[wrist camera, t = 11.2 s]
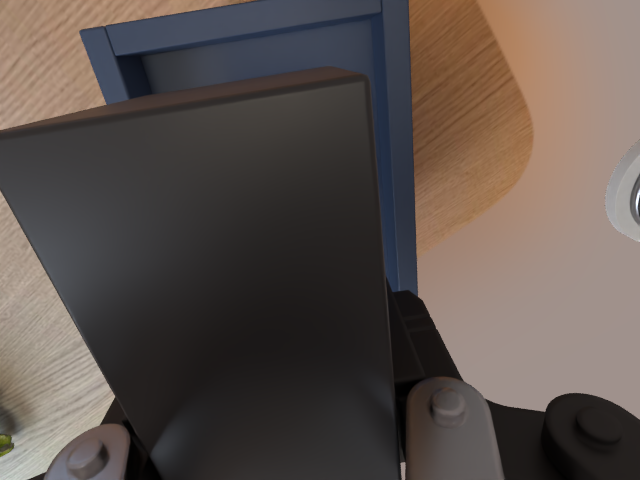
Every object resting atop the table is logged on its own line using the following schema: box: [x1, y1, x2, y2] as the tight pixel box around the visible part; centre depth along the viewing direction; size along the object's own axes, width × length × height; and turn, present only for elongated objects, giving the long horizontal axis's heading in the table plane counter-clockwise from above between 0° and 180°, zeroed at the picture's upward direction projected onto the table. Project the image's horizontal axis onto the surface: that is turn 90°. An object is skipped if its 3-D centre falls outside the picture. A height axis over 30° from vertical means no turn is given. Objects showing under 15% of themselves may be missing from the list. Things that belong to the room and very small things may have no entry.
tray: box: [79, 0, 418, 297], centre depth 15 cm, size 10×16×2 cm, turn 8°
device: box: [0, 66, 402, 480], centre depth 8 cm, size 12×4×4 cm, turn 8°
